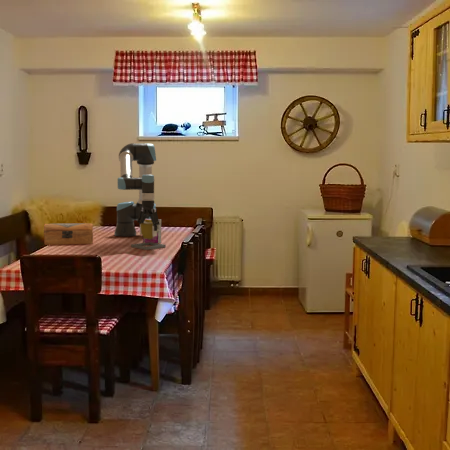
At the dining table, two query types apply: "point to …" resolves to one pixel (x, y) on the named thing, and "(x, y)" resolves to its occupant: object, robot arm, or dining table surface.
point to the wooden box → (68, 234)
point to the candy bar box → (155, 238)
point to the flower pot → (147, 230)
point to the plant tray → (141, 246)
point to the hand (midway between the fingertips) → (148, 235)
